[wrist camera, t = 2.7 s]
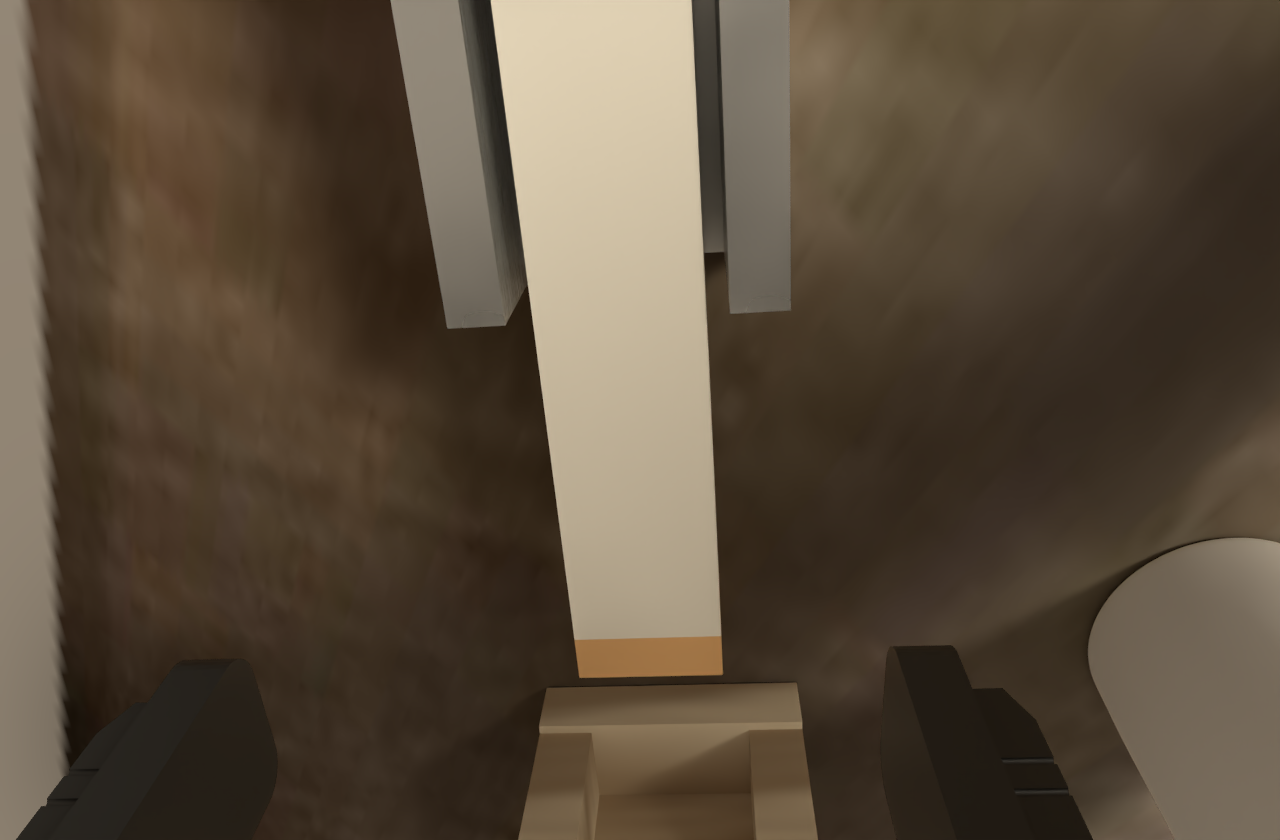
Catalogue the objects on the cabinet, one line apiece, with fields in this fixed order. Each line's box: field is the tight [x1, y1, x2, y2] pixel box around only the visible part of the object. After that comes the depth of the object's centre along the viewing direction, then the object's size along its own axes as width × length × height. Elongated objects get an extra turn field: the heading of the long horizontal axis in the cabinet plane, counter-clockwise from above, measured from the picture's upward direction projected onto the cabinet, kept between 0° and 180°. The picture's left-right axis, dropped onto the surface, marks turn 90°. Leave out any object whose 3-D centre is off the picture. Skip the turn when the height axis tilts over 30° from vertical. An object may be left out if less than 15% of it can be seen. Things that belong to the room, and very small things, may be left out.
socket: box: [518, 683, 818, 840], centre depth 24 cm, size 4×7×6 cm, turn 94°
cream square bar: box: [491, 0, 723, 678], centre depth 17 cm, size 18×3×3 cm, turn 4°
